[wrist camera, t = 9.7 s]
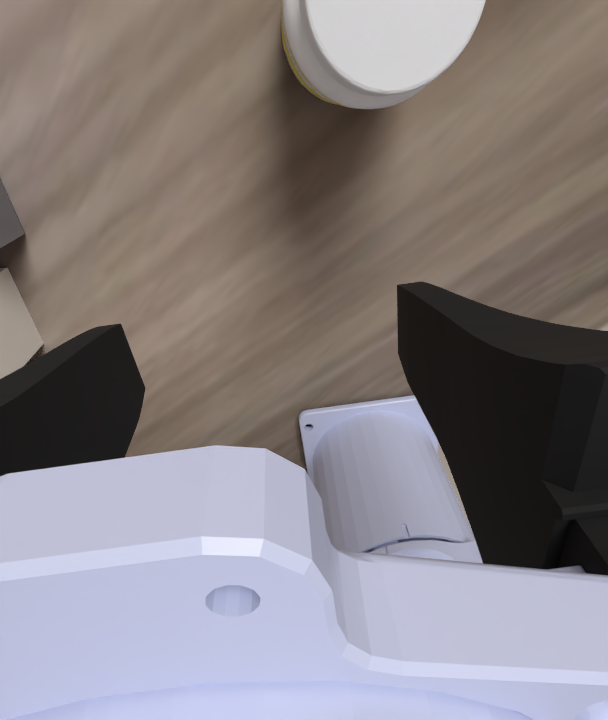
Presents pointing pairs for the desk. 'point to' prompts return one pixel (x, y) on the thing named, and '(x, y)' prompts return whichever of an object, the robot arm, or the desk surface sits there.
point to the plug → (15, 328)
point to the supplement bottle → (374, 46)
